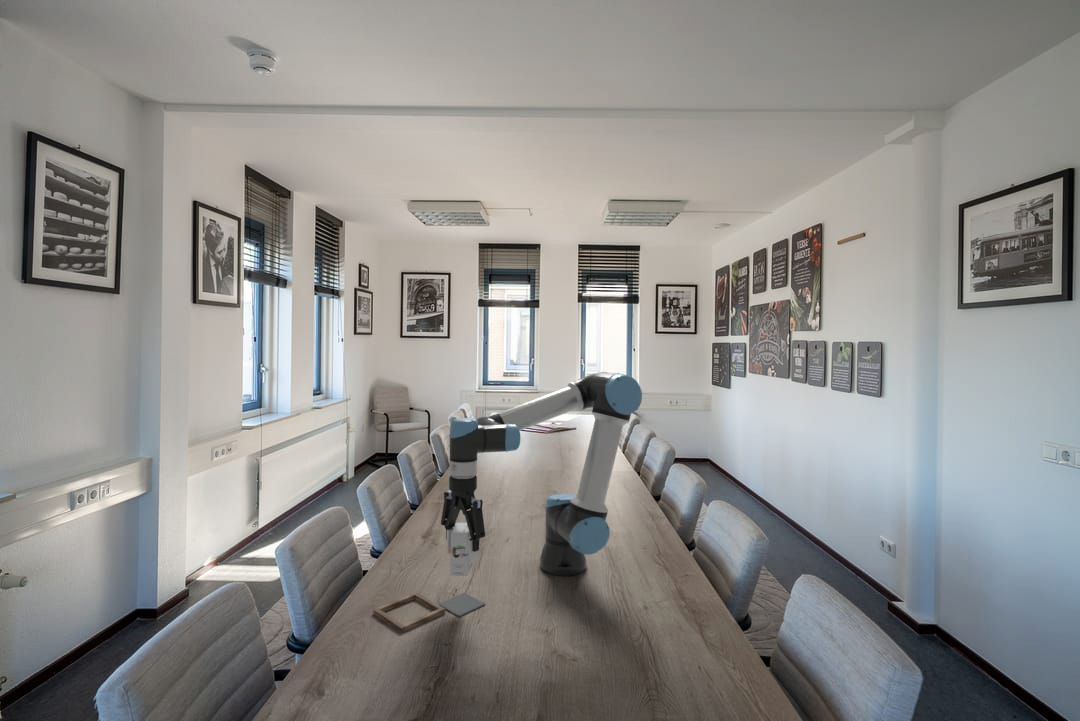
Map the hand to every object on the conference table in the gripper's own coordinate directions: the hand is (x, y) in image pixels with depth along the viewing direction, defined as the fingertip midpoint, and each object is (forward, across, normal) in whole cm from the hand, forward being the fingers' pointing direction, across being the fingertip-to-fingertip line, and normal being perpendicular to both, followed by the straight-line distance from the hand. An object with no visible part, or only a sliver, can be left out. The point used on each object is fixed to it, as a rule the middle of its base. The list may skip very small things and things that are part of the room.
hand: (461, 557), depth 143 cm
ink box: (+4, 0, 0) cm, 4 cm away
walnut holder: (+14, -6, -12) cm, 19 cm away
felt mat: (+13, 0, 0) cm, 13 cm away
